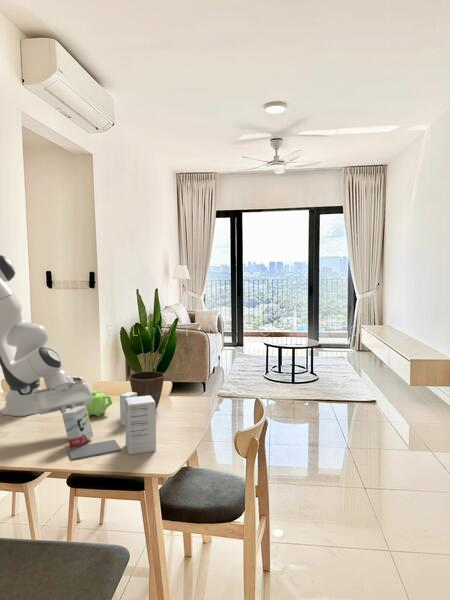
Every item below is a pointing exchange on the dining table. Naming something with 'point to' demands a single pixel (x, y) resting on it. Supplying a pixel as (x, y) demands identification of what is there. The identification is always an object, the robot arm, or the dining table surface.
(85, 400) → the robot arm
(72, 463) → the dining table surface
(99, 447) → the slate tile
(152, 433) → the supplement box
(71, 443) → the ink box
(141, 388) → the plant pot
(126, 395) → the skincare box
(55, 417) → the dining table surface
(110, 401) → the teapot
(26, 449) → the dining table surface
